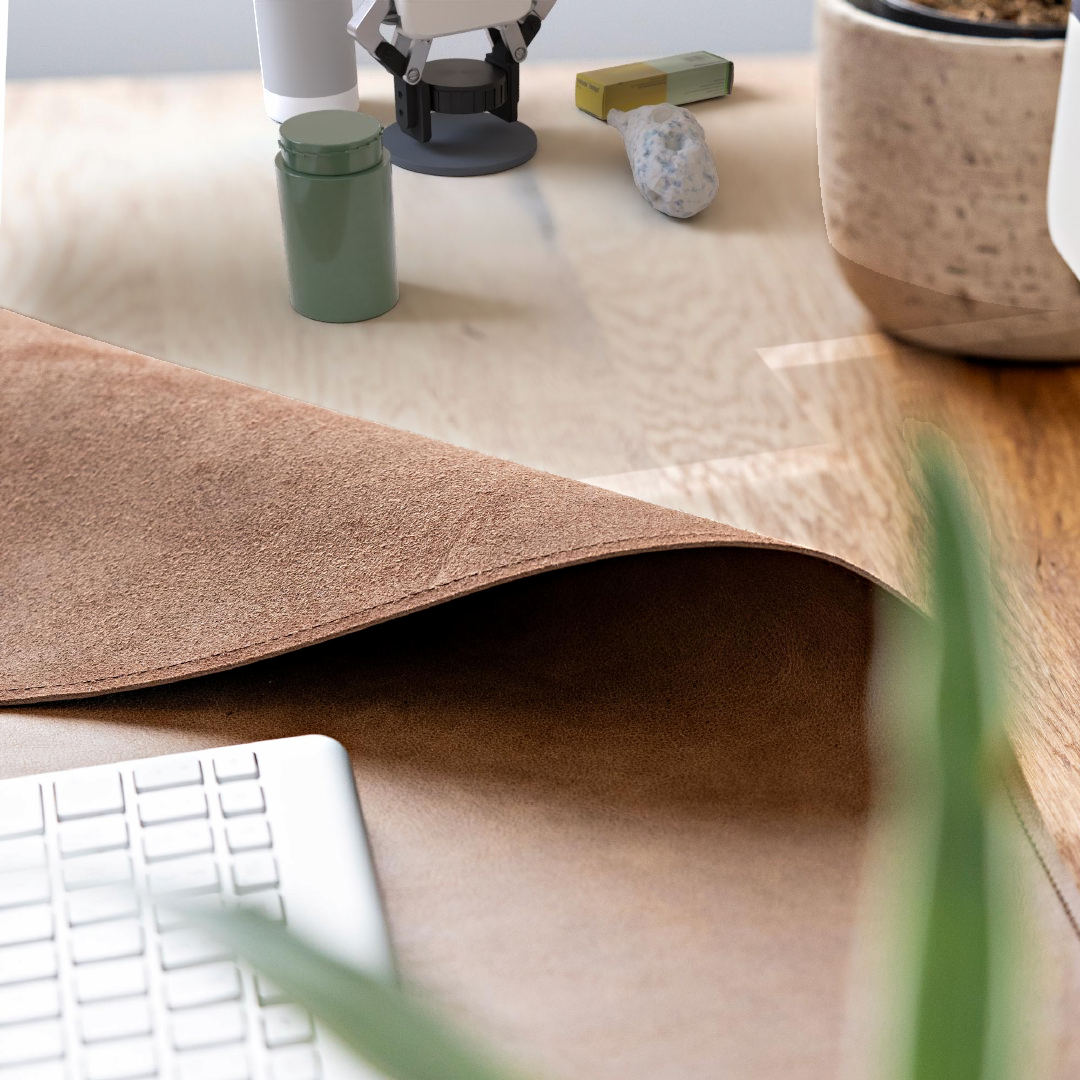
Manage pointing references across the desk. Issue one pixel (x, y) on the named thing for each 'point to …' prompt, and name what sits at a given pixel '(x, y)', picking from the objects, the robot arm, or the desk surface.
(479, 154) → the coaster
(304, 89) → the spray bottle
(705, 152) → the decorative stone
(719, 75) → the medication box
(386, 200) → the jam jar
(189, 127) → the desk surface
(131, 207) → the desk surface
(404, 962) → the desk surface
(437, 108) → the jar lid
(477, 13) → the robot arm
